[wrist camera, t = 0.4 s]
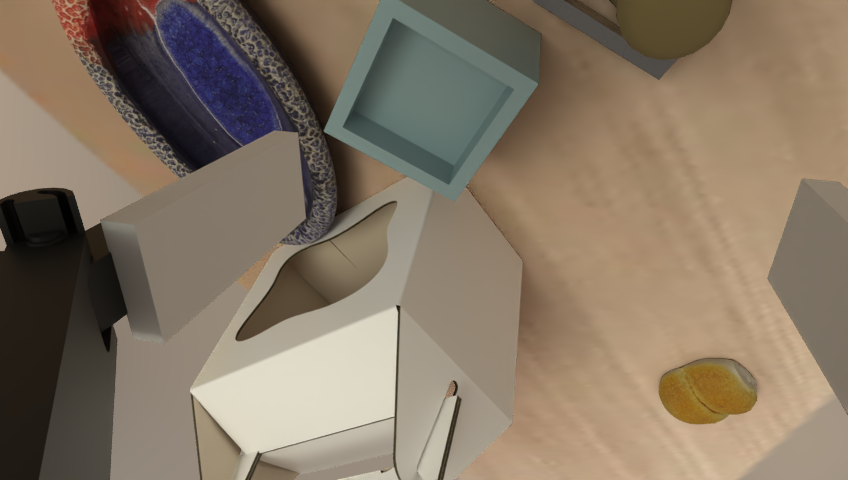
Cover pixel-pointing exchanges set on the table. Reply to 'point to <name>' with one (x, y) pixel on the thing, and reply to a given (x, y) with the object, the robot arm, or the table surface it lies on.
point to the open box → (436, 88)
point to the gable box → (368, 347)
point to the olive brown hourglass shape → (670, 25)
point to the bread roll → (708, 391)
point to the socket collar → (603, 33)
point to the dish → (202, 87)
